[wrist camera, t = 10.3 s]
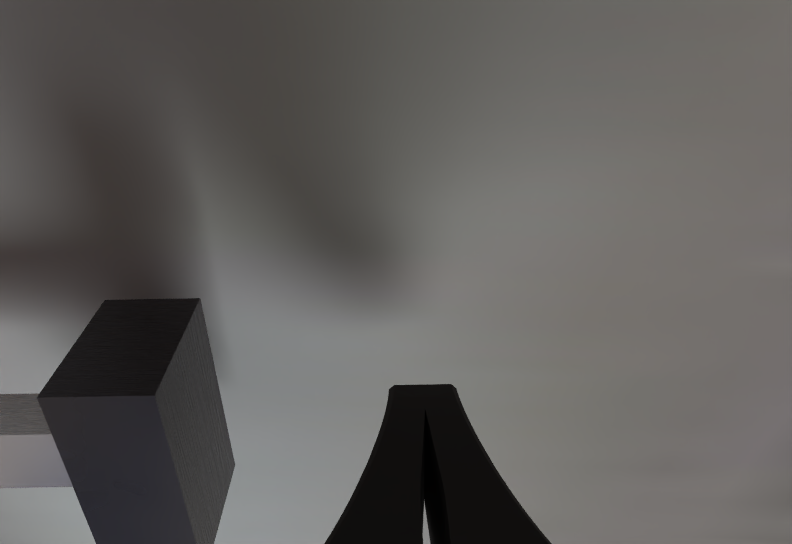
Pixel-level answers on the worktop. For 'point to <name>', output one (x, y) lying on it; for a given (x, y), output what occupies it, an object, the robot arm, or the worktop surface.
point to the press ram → (129, 426)
